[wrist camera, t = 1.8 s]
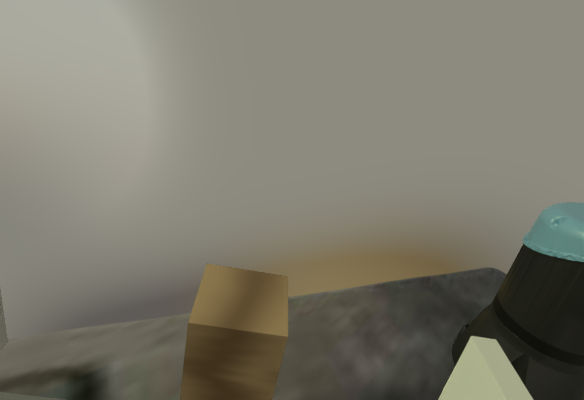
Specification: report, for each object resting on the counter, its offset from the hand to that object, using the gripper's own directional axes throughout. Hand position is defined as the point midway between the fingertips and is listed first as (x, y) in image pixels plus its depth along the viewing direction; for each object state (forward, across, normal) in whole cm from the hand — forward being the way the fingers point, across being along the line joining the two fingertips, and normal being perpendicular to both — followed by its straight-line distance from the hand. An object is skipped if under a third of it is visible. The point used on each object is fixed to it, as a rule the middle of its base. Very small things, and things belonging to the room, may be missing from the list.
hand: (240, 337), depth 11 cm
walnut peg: (+13, 0, -27) cm, 30 cm away
